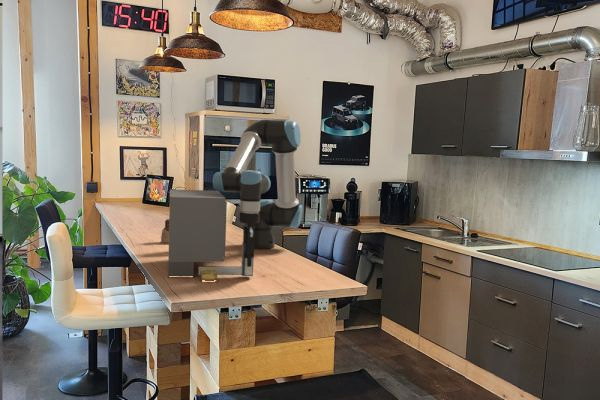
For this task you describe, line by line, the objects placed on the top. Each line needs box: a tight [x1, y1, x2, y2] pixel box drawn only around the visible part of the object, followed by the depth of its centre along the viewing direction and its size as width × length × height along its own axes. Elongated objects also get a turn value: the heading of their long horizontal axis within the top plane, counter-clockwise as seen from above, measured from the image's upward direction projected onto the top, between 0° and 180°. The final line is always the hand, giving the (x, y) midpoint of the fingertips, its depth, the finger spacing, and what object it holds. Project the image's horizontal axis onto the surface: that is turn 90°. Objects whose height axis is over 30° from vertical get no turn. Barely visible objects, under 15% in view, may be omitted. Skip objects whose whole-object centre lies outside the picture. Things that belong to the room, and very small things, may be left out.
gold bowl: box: [200, 271, 218, 281], centre depth 180 cm, size 6×6×3 cm
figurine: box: [160, 218, 169, 245], centre depth 242 cm, size 7×7×12 cm
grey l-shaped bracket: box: [198, 241, 255, 277], centre depth 184 cm, size 20×4×12 cm, turn 101°
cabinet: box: [167, 189, 228, 277], centre depth 196 cm, size 22×28×30 cm
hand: (247, 272), depth 186 cm, fingers closed on grey l-shaped bracket, 4 cm apart
